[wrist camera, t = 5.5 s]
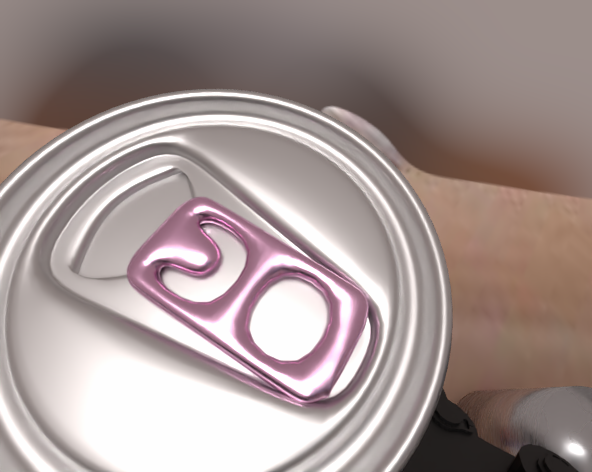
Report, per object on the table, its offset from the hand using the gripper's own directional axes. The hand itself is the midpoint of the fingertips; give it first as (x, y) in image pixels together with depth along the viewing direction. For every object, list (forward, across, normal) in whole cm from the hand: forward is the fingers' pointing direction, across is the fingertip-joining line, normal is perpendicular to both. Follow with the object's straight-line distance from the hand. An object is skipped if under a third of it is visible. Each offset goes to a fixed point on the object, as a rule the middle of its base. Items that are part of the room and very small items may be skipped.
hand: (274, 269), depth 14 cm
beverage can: (+1, 0, -6) cm, 7 cm away
